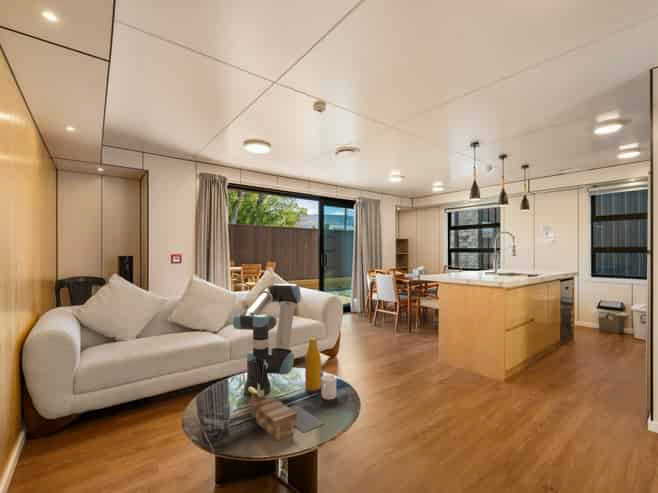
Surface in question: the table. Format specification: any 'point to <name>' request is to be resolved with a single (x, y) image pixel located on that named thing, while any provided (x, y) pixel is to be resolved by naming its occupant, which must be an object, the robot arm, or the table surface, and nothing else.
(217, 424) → the table surface
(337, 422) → the table surface
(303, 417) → the felt mat
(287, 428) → the toolbox
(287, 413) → the lid
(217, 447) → the table surface
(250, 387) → the key
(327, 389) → the mug
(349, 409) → the table surface
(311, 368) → the beer bottle
